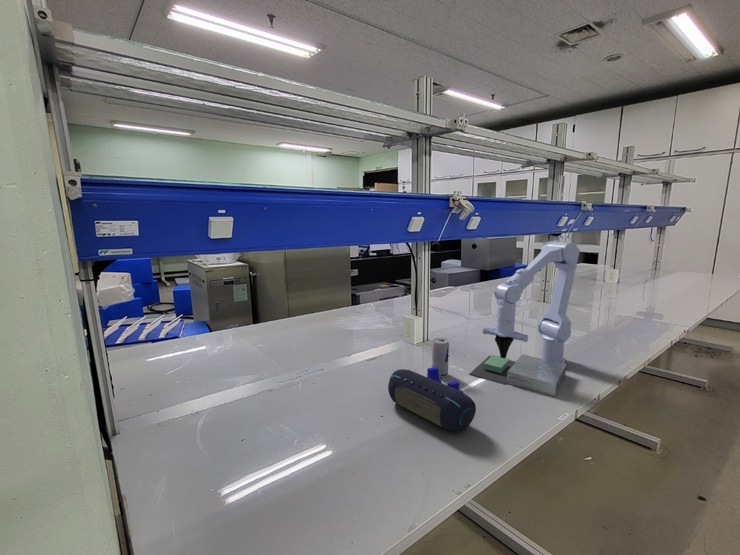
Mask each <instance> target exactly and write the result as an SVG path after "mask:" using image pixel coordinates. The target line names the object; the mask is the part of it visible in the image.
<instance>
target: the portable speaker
mask: <svg viewBox="0 0 740 555" xmlns="http://www.w3.org/2000/svg"><path fill="white" fill-rule="evenodd" d="M447 385H448V384H444V383H443V382H442V383H440V382H437V381H435V380H432V379H430V378H428V377H427V376H426V375H422V374H420V373H418V372H416V371H413V370H411V369H405V368H404V369H402V368H401V369H397V370H395V371H394V372H393V373H392V374H391V375H390V378H389V381H388V385H387V387H388V388H387V391H388V394H389V397H390V398H391V401H392V402H394V403H395V404H397V405H399V406H401V407H402V408H404V409H407V410H409V411H411V412H412V413H414V414H416V415H418V416H420V417H422V418H424V419H426V420H428V421H430V422H431V423H433V424H435V425H437V426H440V428H444V429H445V430H446V431H450V432H453V433H454V432H455V433H457V432H458V433H460V432H463V431H465V430H466V429H467V428H468V427H469V426H470V425H471V424H472V422H473V419H475V416H476V410H477V408H476V402H475V401H474V400H473V399H472V398H471V397H470V396H469V395H467V394H466V393H465V392H464V391H463V390H462V391H463V392H462V391H459V390H457V389H454V388H452V387H450V386H447Z"/></svg>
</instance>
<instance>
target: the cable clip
mask: <svg viewBox="0 0 740 555" xmlns="http://www.w3.org/2000/svg"><path fill="white" fill-rule="evenodd" d="M426 375H427V376H426V377H428V378H430V379H432V380H435V381H437V382H440V383H442V384H443V382H442V380H441V378H440V377H439V373H438V368H436V367H432V366H431V367H428V368H427V373H426ZM446 385H447V386H450V387H452V388H454V389H457V390H459V391H462V392H463V393H464V390H462V389H460V382H459V381H457V380H454V381H453V380H452V381H448V382H447V384H446Z"/></svg>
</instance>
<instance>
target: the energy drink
mask: <svg viewBox="0 0 740 555" xmlns="http://www.w3.org/2000/svg"><path fill="white" fill-rule="evenodd" d="M449 345H450V344H449V340H447V339H446V338H434V339H433V341H432V350H431V351H432V352H431V353H432V354H431V368H432V367H436V368H438V373H439V377H440V379H443V378H446V377H447V376H448V375H449V374H448V373H449V351H450V350H449V349H450V346H449Z"/></svg>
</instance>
